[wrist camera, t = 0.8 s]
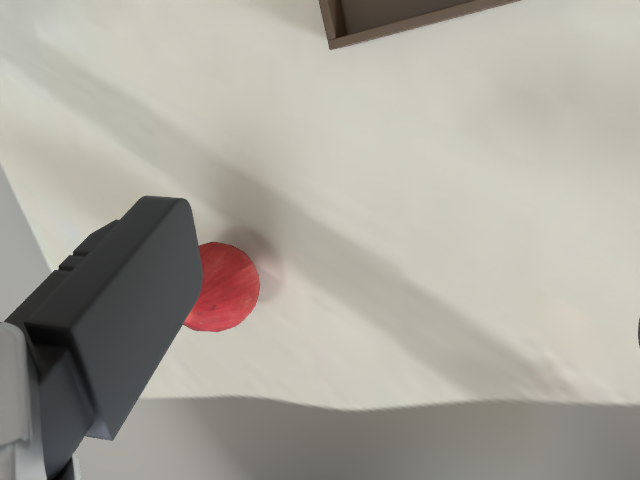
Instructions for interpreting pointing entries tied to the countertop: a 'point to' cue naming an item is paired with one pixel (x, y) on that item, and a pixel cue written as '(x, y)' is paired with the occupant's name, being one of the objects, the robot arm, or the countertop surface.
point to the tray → (390, 16)
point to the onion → (224, 289)
